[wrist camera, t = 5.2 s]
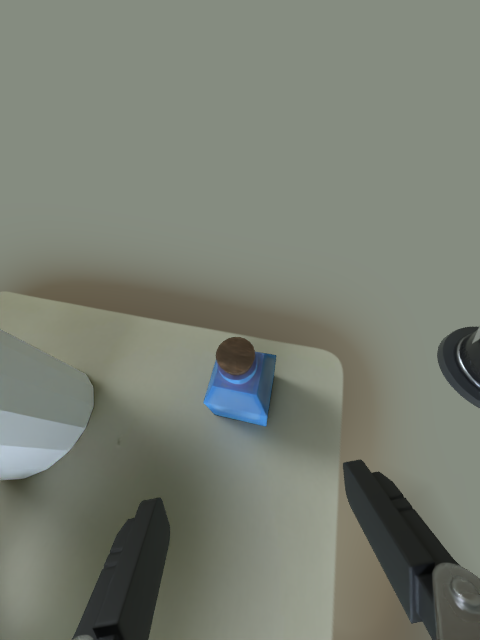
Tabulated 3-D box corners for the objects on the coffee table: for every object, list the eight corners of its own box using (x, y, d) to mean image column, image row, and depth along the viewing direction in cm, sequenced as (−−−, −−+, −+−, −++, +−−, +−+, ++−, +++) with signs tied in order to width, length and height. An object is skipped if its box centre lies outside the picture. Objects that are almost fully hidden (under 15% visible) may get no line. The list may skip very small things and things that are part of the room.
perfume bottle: (214, 414, 27) (186, 384, 17) (227, 366, 31) (209, 317, 20) (266, 426, 26) (267, 401, 16) (274, 374, 29) (279, 327, 19)
